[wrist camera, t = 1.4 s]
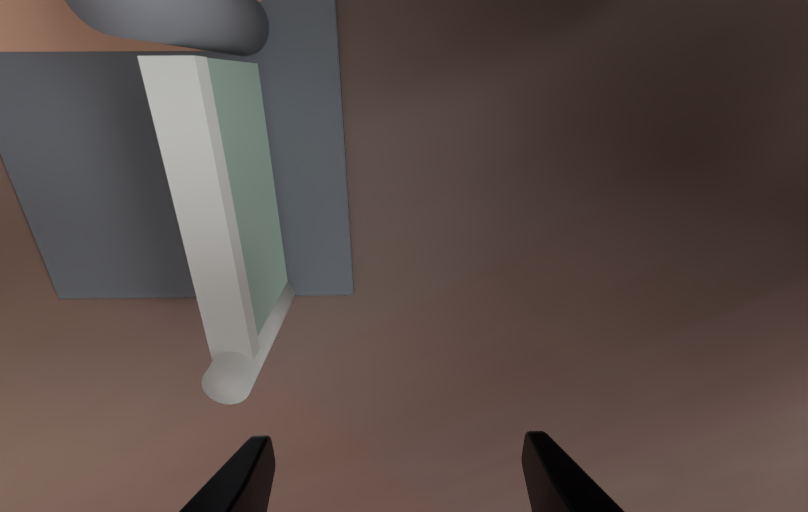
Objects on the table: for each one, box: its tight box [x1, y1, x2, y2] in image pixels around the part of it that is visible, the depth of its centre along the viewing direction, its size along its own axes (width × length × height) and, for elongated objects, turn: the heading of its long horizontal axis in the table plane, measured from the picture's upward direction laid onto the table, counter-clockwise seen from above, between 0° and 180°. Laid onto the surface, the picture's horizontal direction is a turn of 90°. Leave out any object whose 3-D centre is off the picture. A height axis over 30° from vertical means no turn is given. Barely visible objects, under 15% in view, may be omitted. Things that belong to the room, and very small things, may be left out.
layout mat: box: [0, 0, 354, 299], centre depth 17 cm, size 16×26×1 cm, turn 0°
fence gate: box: [137, 55, 295, 404], centre depth 16 cm, size 12×2×7 cm, turn 0°
